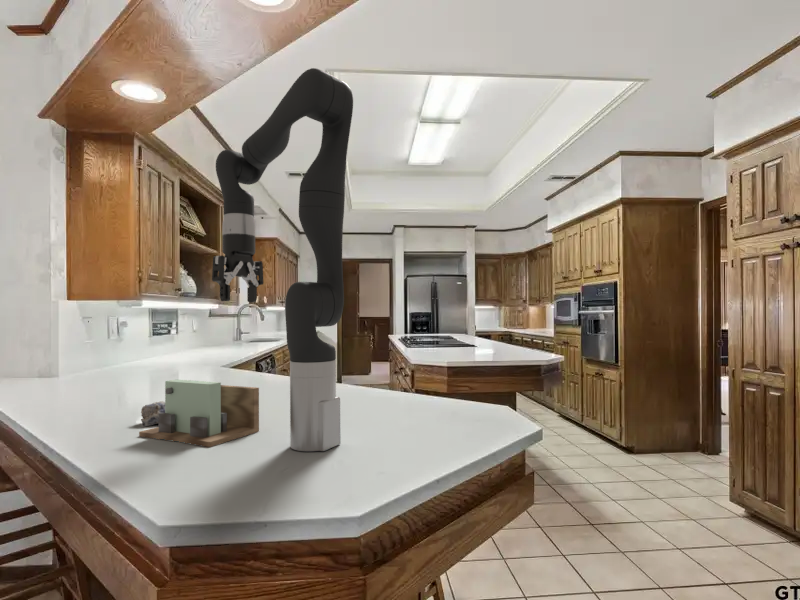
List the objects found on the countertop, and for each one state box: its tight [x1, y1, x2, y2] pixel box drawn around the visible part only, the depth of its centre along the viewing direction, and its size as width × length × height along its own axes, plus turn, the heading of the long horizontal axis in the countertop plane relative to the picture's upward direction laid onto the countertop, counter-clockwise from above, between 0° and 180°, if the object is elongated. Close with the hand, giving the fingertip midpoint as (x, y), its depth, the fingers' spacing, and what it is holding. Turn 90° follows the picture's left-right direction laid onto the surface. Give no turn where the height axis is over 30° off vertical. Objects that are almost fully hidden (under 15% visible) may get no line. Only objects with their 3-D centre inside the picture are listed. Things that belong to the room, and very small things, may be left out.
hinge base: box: [138, 384, 260, 448], centre depth 106 cm, size 22×14×10 cm, turn 64°
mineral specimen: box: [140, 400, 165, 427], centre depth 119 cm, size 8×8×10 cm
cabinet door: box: [164, 379, 222, 436], centre depth 104 cm, size 14×4×11 cm, turn 64°
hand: (239, 301), depth 112 cm, fingers open, 8 cm apart
